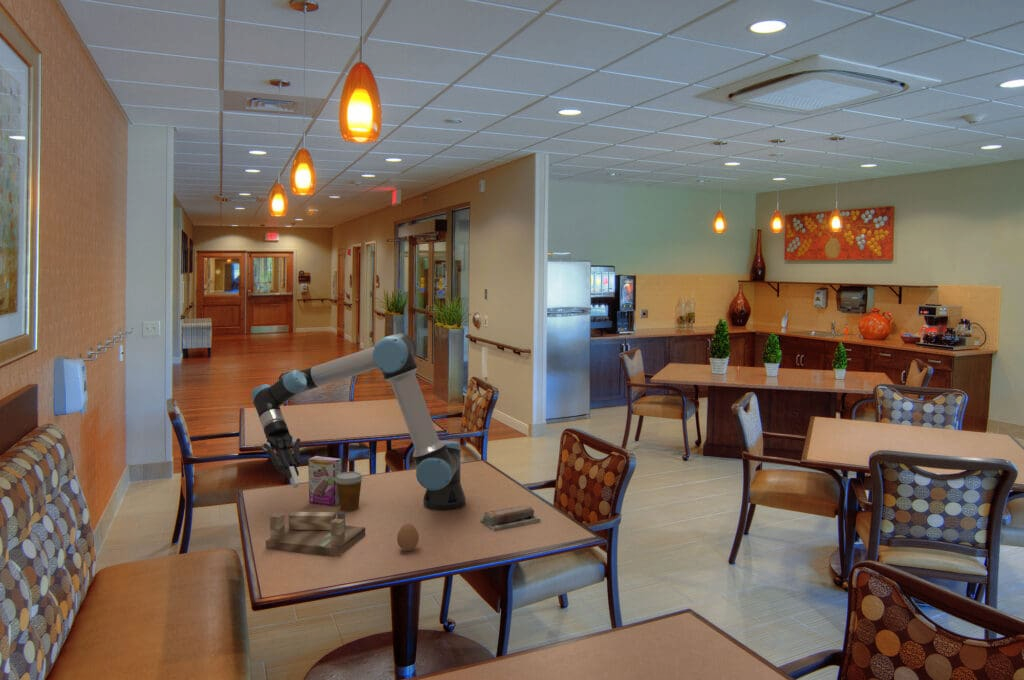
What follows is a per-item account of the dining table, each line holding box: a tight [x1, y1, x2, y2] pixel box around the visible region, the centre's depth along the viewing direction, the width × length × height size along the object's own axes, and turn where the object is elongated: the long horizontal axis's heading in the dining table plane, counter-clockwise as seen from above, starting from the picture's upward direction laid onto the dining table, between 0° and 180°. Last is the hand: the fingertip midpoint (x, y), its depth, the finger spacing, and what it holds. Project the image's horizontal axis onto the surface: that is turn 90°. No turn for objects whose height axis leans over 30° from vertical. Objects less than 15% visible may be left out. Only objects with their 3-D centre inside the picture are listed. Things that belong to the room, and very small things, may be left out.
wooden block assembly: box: [265, 511, 366, 557], centre depth 220 cm, size 24×18×10 cm
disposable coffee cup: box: [335, 471, 364, 512], centre depth 251 cm, size 10×10×12 cm
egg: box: [396, 523, 420, 552], centre depth 213 cm, size 6×6×8 cm
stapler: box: [479, 505, 541, 532], centre depth 238 cm, size 18×5×10 cm
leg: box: [288, 511, 337, 530], centre depth 224 cm, size 14×4×4 cm, turn 87°
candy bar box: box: [307, 455, 343, 507], centre depth 256 cm, size 11×5×16 cm, turn 71°
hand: (296, 485), depth 230 cm, fingers closed
